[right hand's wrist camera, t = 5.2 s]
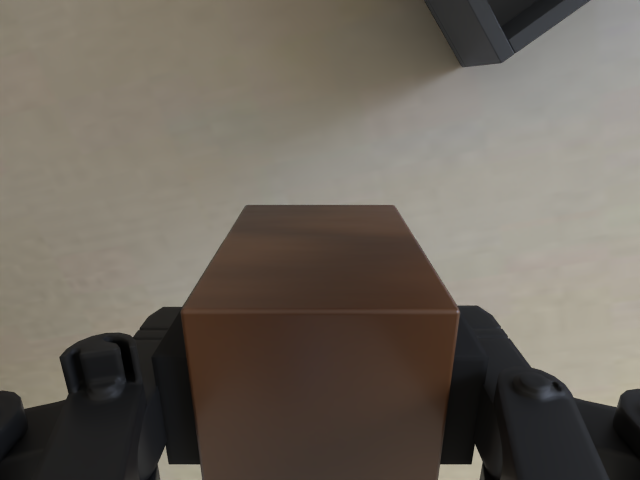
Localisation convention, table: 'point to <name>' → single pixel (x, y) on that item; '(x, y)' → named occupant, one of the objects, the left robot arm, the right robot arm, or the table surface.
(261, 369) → the walnut block
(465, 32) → the grey box
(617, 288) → the table surface
